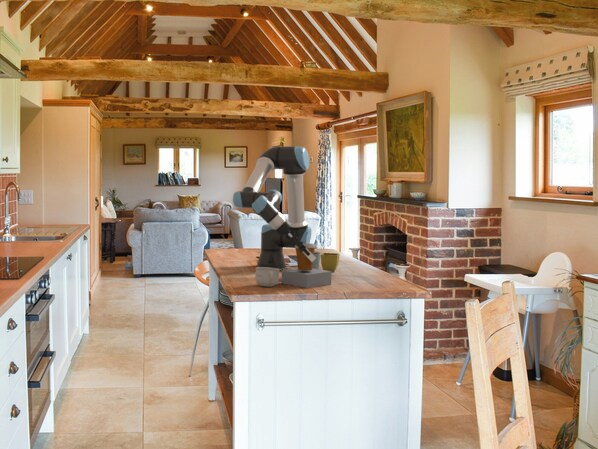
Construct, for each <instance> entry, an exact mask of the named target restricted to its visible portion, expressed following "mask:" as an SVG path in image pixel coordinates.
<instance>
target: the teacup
mask: <svg viewBox="0 0 598 449" xmlns="http://www.w3.org/2000/svg"><path fill="white" fill-rule="evenodd" d="M280 272H281V268H270V267H258V266H257V267H255V274H254V275H255V278H254V279H255V282H256V284H257V285H258V286H261V287H267V288H268V287H270V288H271V287H275V286H276V285H277V284H278V283H279V279H280Z"/></svg>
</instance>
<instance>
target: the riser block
mask: <svg viewBox="0 0 598 449" xmlns="http://www.w3.org/2000/svg"><path fill="white" fill-rule="evenodd" d="M332 273H333V272H332V271H326V270H323V269H320V268H319V269H314V268H312V271H298V267H296V268H290V269H288V268H287V269H282V270H281V284H285V285H288V286H289V285H290V286H292V287H293V286H295V287H298V288H304V289H310V288H311V289H312V288H316V287H324V286H330V285H332Z"/></svg>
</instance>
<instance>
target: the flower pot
mask: <svg viewBox="0 0 598 449" xmlns="http://www.w3.org/2000/svg"><path fill="white" fill-rule="evenodd" d="M339 262H340V253H338V252H337V253H334V252H322V253H321V254H320V264H321V267H322V268H321V269H322V270H326V271H332V273H334V272H335V271H336V270H337V268H338V265H339Z"/></svg>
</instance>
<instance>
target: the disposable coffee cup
mask: <svg viewBox="0 0 598 449" xmlns="http://www.w3.org/2000/svg"><path fill="white" fill-rule="evenodd" d="M302 244H303V245H304V246H305V247H306V248H307V249H308V250H309V251H310V252H311V253H312V254H313V255H314V252H316V251H315V249H316V248H317V247H316V244H315V243H311V242H310V243H302ZM294 249H295V254H296V264H297V268H298V271H312V267H313V262H311V261H310V260H309V259H308V258H307V257H306V255H305V254H304V253H303V252H300V251H301V250H300V249H299V248H298V247H297V246H296V245H295V248H294Z"/></svg>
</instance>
